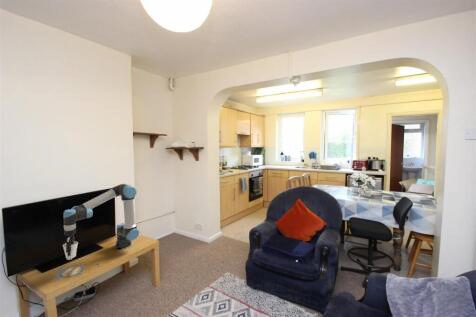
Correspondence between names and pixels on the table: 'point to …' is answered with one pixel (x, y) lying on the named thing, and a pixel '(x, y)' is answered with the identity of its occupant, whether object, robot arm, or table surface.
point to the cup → (73, 249)
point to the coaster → (71, 272)
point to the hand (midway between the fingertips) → (71, 256)
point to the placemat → (66, 269)
